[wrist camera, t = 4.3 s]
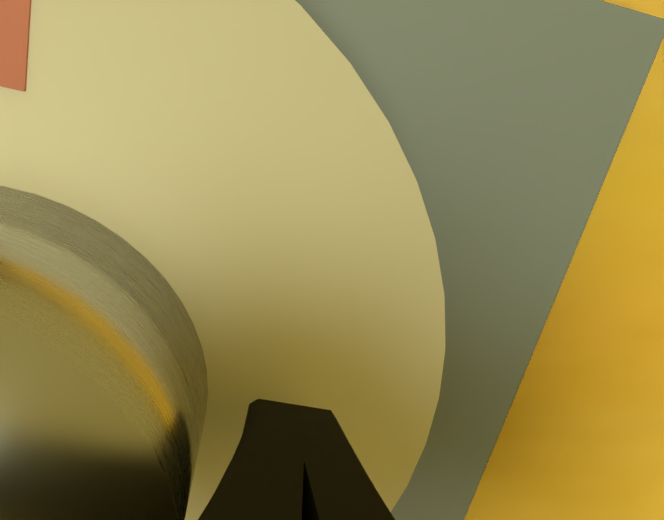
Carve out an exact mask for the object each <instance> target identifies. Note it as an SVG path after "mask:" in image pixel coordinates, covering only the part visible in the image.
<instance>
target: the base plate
mask: <svg viewBox="0 0 664 520" xmlns="http://www.w3.org/2000/svg"><path fill="white" fill-rule="evenodd" d="M295 1H296V2H298V3H299V4H300V5H301V6H302V7H303V9H304V10H305V11H306V12H307V13H308V14H309V16H310V17H311V18H312V19H313V20H314V21H315V23H316V24H317V25H318V26H319V27H320V28H321V30H322V31H323V32H324V33H325V34H326V35H327V36H328V38H329V39H330V40H331V41H332V42H333V43H334V45H335V46H336V47H337V48H338V49H339V50H340V52H341V53H342V54H343V55H344V56H345V57H346V59H347V60H348V61H349V62H350V63H351V65H352V66H353V68H354V69H355V71H356V73H357V74H358V76H359V77H360V79H361V80H362V82H363V83H364V85H365V86H366V88H367V89H368V91H369V92H370V94H371V95H372V97H373V99H374V100H375V102H376V103H377V105H378V106H379V108H380V109H381V111H382V112H383V114H384V115H385V117H386V118H387V120H388V121H389V123H390V125H391V128H392V130H393V132H394V134H395V136H396V138H397V140H398V142H399V144H400V146H401V149H402V151H403V153H404V155H405V157H406V159H407V161H408V163H409V165H410V167H411V170H412V172H413V174H414V176H415V178H416V180H417V183H418V186H419V189H420V192H421V195H422V198H423V202H424V205H425V208H426V211H427V214H428V217H429V221H430V224H431V227H432V230H433V233H434V236H435V240H436V246H437V252H438V258H439V264H440V270H441V276H442V283H443V289H444V295H445V356H444V364H443V371H442V379H441V387H440V394H439V400H438V403H437V407H436V410H435V414H434V417H433V421H432V424H431V428H430V432H429V435H428V439H427V442H426V445H425V447H424V449H423V452H422V454H421V456H420V458H419V461H418V463H417V465H416V467H415V470H414V472H413V474H412V476H411V479H410V481H409V483H408V485H407V487H406V489H405V490H404V492H403V494H402V495H401V497H400V498H399V500H398V502H397V503H396V505H395V506H394V508H393V509H392V511H391V514H392V515H393V517H394V518H395V520H464V518H465V516H466V514H467V511H468V509H469V506H470V504H471V501H472V499H473V497H474V494H475V492H476V489H477V487H478V485H479V482H480V480H481V477H482V475H483V472H484V470H485V468H486V465H487V463H488V460H489V458H490V455H491V453H492V451H493V448H494V446H495V443H496V441H497V439H498V436H499V434H500V431H501V429H502V426H503V424H504V422H505V419H506V417H507V414H508V412H509V410H510V407H511V405H512V402H513V400H514V397H515V395H516V393H517V390H518V388H519V385H520V383H521V380H522V378H523V376H524V373H525V371H526V368H527V366H528V364H529V361H530V359H531V356H532V354H533V351H534V349H535V347H536V344H537V342H538V339H539V337H540V335H541V332H542V330H543V327H544V325H545V322H546V320H547V318H548V315H549V313H550V310H551V308H552V305H553V303H554V301H555V298H556V296H557V293H558V291H559V289H560V286H561V284H562V281H563V279H564V276H565V274H566V272H567V269H568V267H569V264H570V262H571V260H572V257H573V255H574V252H575V250H576V247H577V245H578V243H579V240H580V238H581V235H582V233H583V231H584V228H585V226H586V223H587V221H588V218H589V216H590V214H591V211H592V209H593V206H594V204H595V201H596V199H597V197H598V194H599V192H600V189H601V187H602V185H603V182H604V180H605V177H606V175H607V172H608V170H609V168H610V165H611V163H612V160H613V158H614V156H615V153H616V151H617V148H618V146H619V143H620V141H621V139H622V136H623V134H624V131H625V129H626V126H627V124H628V122H629V119H630V117H631V114H632V112H633V110H634V107H635V105H636V102H637V100H638V97H639V95H640V93H641V90H642V88H643V85H644V83H645V81H646V78H647V76H648V73H649V71H650V68H651V66H652V64H653V61H654V59H655V56H656V54H657V52H658V49H659V47H660V44H661V42H662V39H663V37H664V19H662V18H659V17H655V16H652V15H649V14H645V13H642V12H638V11H635V10H631V9H628V8H625V7H621V6H618V5H614V4H611V3H607V2H604V1H601V0H295Z"/></svg>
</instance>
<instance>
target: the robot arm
mask: <svg viewBox="0 0 664 520" xmlns="http://www.w3.org/2000/svg"><path fill="white" fill-rule="evenodd" d="M198 520H395V518H394V517H393V515H392V514H391V512H390V511H389V509H388V507H387V506H386V504H385V503H384V501H383V499H382V498H381V496H380V495H379V493H378V491H377V490H376V488H375V486H374V485H373V483H372V481H371V480H370V478H369V476H368V475H367V473H366V471H365V469H364V468H363V466H362V464H361V462H360V461H359V459H358V457H357V455H356V454H355V452H354V450H353V448H352V446H351V445H350V443H349V441H348V439H347V437H346V435H345V434H344V432H343V430H342V428H341V426H340V424H339V423H338V421H337V419H336V417H335V416H334V414H333V413H332V411H331V410H327V409H320V408H314V407H308V406H302V405H295V404H289V403H283V402H277V401H271V400H264V399H257V400H255V401H253V402H252V403H250V404H249V407H248V412H247V416H246V420H245V425H244V429H243V433H242V437H241V439H240V442H239V444H238V446H237V449H236V451H235V453H234V456H233V458H232V460H231V462H230V463H229V465H228V467H227V469H226V471H225V473H224V475H223V477H222V479H221V481H220V483H219V485H218V487H217V489H216V490H215V492H214V494H213V496H212V498H211V499H210V501H209V503H208V504H207V506H206V507H205V509H204V511H203V512H202V514H201V515H200V517H199V519H198Z"/></svg>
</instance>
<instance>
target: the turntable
mask: <svg viewBox="0 0 664 520" xmlns="http://www.w3.org/2000/svg"><path fill="white" fill-rule="evenodd" d="M0 186H5V187H9V188H13V189H17V190H21V191H25V192H29V193H33V194H37V195H40V196H42V197H45V198H48V199H50V200H53V201H56V202H58V203H61V204H64V205H66V206H69V207H71V208H73V209H75V210H76V211H78V212H80V213H82V214H84V215H86V216H88V217H90V218H92V219H94V220H96V221H98V222H99V223H101V224H102V225H104V226H105V227H107V228H108V229H110V230H111V231H113V232H114V233H116V234H117V235H119V236H120V237H122V238H123V239H124V240H126V241H127V242H128V243H129V244H130V245H131V246H133V247H134V248H135V249H136V250H137V251H139V252H140V253H141V254H142V255H143V256H144V257H146V258H147V260H148V261H149V262H150V263H151V264H152V265H153V266H154V267H155V268H156V269H157V270H158V271H159V272H160V273H161V275H162V276H163V277H164V278H165V279H166V280H167V282H168V283H169V285H170V286H171V287H172V289H173V290H174V291H175V293H176V294H177V296H178V297H179V298H180V300H181V301H182V303H183V305H184V307H185V309H186V311H187V313H188V314H189V316H190V318H191V320H192V322H193V324H194V327H195V329H196V332H197V335H198V337H199V340H200V343H201V346H202V349H203V354H204V359H205V364H206V369H207V383H208V397H207V407H206V416H205V421H204V426H203V431H202V435H201V440H200V445H199V450H198V455H197V460H196V465H195V470H194V475H193V480H192V485H191V490H190V495H189V500H188V505H187V510H186V515H185V520H198V519H199V517H200V515H201V514H202V512H203V511H204V509H205V507H206V506H207V504H208V503H209V501H210V499H211V498H212V496H213V494H214V492H215V490H216V489H217V487H218V485H219V483H220V481H221V479H222V477H223V475H224V473H225V471H226V469H227V467H228V465H229V463H230V462H231V460H232V458H233V456H234V453H235V451H236V449H237V446H238V444H239V442H240V439H241V437H242V433H243V429H244V425H245V420H246V416H247V412H248V407H249V404H250V403H252V402H253V401H255V400H257V399H264V400H271V401H277V402H283V403H289V404H295V405H302V406H308V407H314V408H320V409H327V410H331V411H332V413H333V414H334V416H335V417H336V419H337V421H338V423H339V424H340V426H341V428H342V430H343V432H344V434H345V435H346V437H347V439H348V441H349V443H350V445H351V446H352V448H353V450H354V452H355V454H356V455H357V457H358V459H359V461H360V462H361V464H362V466H363V468H364V469H365V471H366V473H367V475H368V476H369V478H370V480H371V481H372V483H373V485H374V486H375V488H376V490H377V491H378V493H379V495H380V496H381V498H382V499H383V501H384V503H385V504H386V506H387V507H388V509H389V511H390V512H391V511H392V509H393V508H394V506H395V505H396V503H397V502H398V500H399V498H400V497H401V495H402V494H403V492H404V490H405V489H406V487H407V485H408V483H409V481H410V479H411V476H412V474H413V472H414V470H415V467H416V465H417V463H418V461H419V458H420V456H421V454H422V452H423V449H424V447H425V445H426V442H427V439H428V435H429V432H430V428H431V424H432V421H433V417H434V414H435V410H436V407H437V403H438V400H439V394H440V387H441V379H442V371H443V364H444V356H445V295H444V289H443V283H442V276H441V270H440V264H439V258H438V252H437V246H436V240H435V236H434V233H433V230H432V227H431V224H430V221H429V217H428V214H427V211H426V208H425V205H424V202H423V198H422V195H421V192H420V189H419V186H418V183H417V180H416V178H415V176H414V174H413V172H412V170H411V167H410V165H409V163H408V161H407V159H406V157H405V155H404V153H403V151H402V149H401V146H400V144H399V142H398V140H397V138H396V136H395V134H394V132H393V130H392V128H391V125H390V123H389V121H388V120H387V118H386V117H385V115H384V114H383V112H382V111H381V109H380V108H379V106H378V105H377V103H376V102H375V100H374V99H373V97H372V95H371V94H370V92H369V91H368V89H367V88H366V86H365V85H364V83H363V82H362V80H361V79H360V77H359V76H358V74H357V73H356V71H355V69H354V68H353V66H352V65H351V63H350V62H349V61H348V60H347V59H346V57H345V56H344V55H343V54H342V53H341V52H340V50H339V49H338V48H337V47H336V46H335V45H334V43H333V42H332V41H331V40H330V39H329V38H328V36H327V35H326V34H325V33H324V32H323V31H322V30H321V28H320V27H319V26H318V25H317V24H316V23H315V21H314V20H313V19H312V18H311V17H310V16H309V14H308V13H307V12H306V11H305V10H304V9H303V7H302V6H301V5H300V4H299V3H298V2H296V1H295V0H0Z"/></svg>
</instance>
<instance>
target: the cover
mask: <svg viewBox="0 0 664 520" xmlns="http://www.w3.org/2000/svg"><path fill="white" fill-rule="evenodd" d="M207 397H208V383H207V369H206V364H205V359H204V354H203V349H202V346H201V343H200V340H199V337H198V335H197V332H196V329H195V327H194V324H193V322H192V320H191V318H190V316H189V314H188V313H187V311H186V309H185V307H184V305H183V303H182V301H181V300H180V298H179V297H178V296H177V294H176V293H175V291H174V290H173V289H172V287H171V286H170V285H169V283H168V282H167V280H166V279H165V278H164V277H163V276H162V275H161V273H160V272H159V271H158V270H157V269H156V268H155V267H154V266H153V265H152V264H151V263H150V262H149V261H148V260H147V258H146V257H144V256H143V255H142V254H141V253H140V252H139V251H137V250H136V249H135V248H134V247H133V246H131V245H130V244H129V243H128V242H127V241H126V240H124V239H123V238H122V237H120V236H119V235H117V234H116V233H114V232H113V231H111V230H110V229H108V228H107V227H105V226H104V225H102V224H101V223H99V222H98V221H96V220H94V219H92V218H90V217H88V216H86V215H84V214H82V213H80V212H78V211H76V210H75V209H73V208H71V207H69V206H66V205H64V204H61V203H58V202H56V201H53V200H50V199H48V198H45V197H42V196H40V195H37V194H33V193H29V192H25V191H21V190H17V189H13V188H9V187H5V186H0V520H185V515H186V510H187V505H188V500H189V495H190V490H191V485H192V480H193V475H194V470H195V465H196V460H197V455H198V450H199V445H200V440H201V435H202V431H203V426H204V421H205V416H206V407H207Z"/></svg>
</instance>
